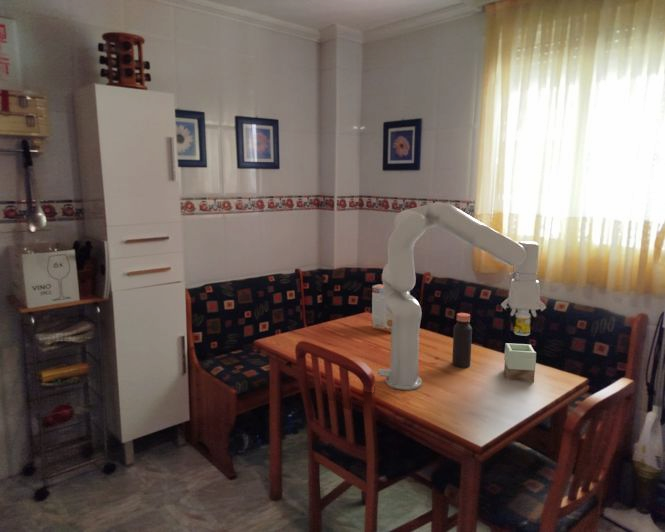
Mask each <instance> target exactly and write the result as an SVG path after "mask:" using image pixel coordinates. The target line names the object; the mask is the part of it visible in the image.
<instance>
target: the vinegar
mask: <svg viewBox="0 0 665 532" xmlns="http://www.w3.org/2000/svg"><path fill="white" fill-rule="evenodd" d="M470 322H471V314H470V313H468V312H467V313H466V312H458V313H456V324H455V325H454V326H453V335H452V336H453V338H452V339H453V340H452V357H451V358H452V360H451V362H452V363H451V364H452V365H453V366H454V367H458V368H469V367H470V366H471V360H472V359H471V357H472V356H471V355H472V340H473V336H472V335H473V327H472V326H471V324H470Z"/></svg>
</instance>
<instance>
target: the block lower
mask: <svg viewBox="0 0 665 532" xmlns="http://www.w3.org/2000/svg"><path fill="white" fill-rule="evenodd" d="M503 372H504V374H505V377H506V380H509V381H519V382H532V383H534V382H535V372H536V369H535V370H519V369H508V367H507V365H506V362H505V361H504V371H503Z"/></svg>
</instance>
